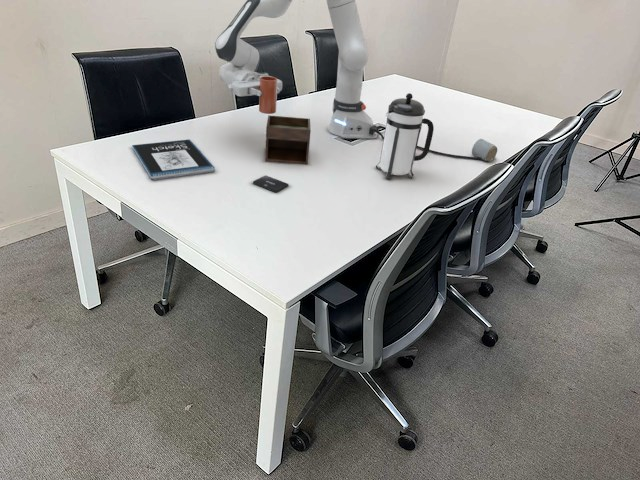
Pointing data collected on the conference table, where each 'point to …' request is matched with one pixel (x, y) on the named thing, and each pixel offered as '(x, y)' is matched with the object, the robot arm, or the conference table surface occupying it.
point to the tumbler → (268, 95)
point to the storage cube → (287, 139)
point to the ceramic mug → (484, 150)
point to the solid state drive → (270, 183)
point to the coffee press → (403, 136)
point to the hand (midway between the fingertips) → (269, 92)
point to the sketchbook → (172, 159)
